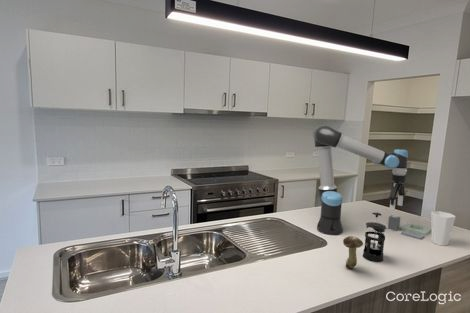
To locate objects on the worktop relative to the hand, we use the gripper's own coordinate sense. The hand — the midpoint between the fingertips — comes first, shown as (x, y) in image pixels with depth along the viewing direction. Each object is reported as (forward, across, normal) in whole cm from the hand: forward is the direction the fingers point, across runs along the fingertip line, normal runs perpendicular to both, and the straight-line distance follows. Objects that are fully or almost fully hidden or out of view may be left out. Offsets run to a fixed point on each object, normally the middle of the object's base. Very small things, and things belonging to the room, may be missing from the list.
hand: (396, 207), depth 183 cm
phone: (+15, -3, -11) cm, 19 cm away
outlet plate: (+14, +10, -10) cm, 20 cm away
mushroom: (+14, -71, -5) cm, 72 cm away
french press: (+14, -51, -8) cm, 54 cm away
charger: (+14, 0, 0) cm, 14 cm away
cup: (+14, -3, -25) cm, 29 cm away
